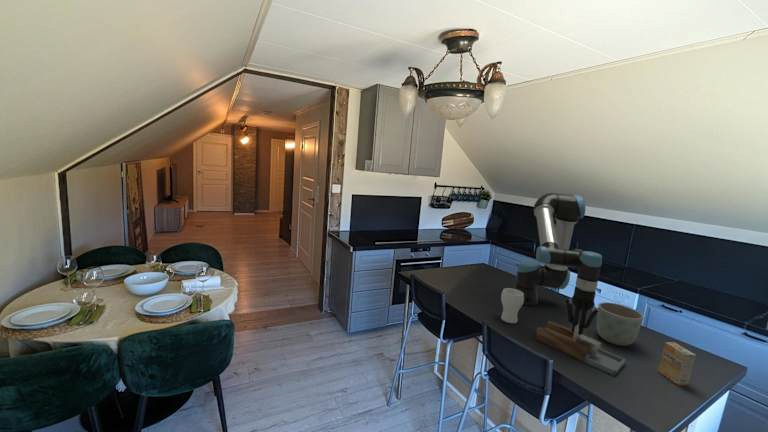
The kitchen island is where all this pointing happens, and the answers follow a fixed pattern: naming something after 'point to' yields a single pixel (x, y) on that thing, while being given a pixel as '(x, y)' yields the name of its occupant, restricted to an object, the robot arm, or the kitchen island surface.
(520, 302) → the cup
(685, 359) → the supplement box
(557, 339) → the slot board
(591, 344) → the chip front
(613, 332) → the planter
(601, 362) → the tray
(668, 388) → the kitchen island surface
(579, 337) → the chip rear
